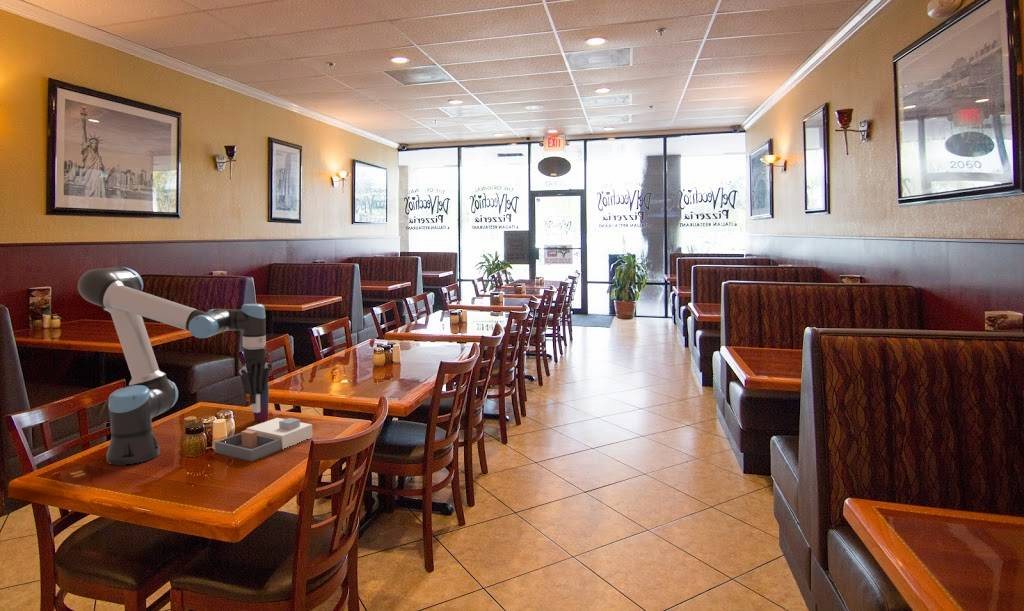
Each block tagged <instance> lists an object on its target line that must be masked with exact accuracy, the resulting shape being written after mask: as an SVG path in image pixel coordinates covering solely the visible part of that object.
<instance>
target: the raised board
mask: <svg viewBox="0 0 1024 611" xmlns="http://www.w3.org/2000/svg"><path fill="white" fill-rule="evenodd" d="M285 419H286V418H281V417H275V418H272V419H268V420H267V421H264V422H259V423H258V424H254V425H253V426H249V427H246V430H252V431H256V432H257V435H262V436H266V437H271V438H275V439H280V449H281V450H282V449H283V450H285V449H284V448H286V449H287V447H288V448H290V447H289V446H291V447H292V445H293V446H296V445H298V444H300V443H302V442H301V441H303V440H305V441H307V440H306V439H308V440H309V439H312V437H313V435H314V434H313V424H312V423H308V422H307V423H306V422H301V421H300V426H299V427H297V428H294V429H291V430H286V429H281V428H279V421H282V420H285ZM299 442H300V443H299ZM303 442H304V441H303ZM297 443H298V444H297Z"/></svg>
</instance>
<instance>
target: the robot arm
mask: <svg viewBox="0 0 1024 611" xmlns="http://www.w3.org/2000/svg"><path fill="white" fill-rule="evenodd" d="M77 290H78V293H79V295H80V297H82V298H83V299H84V300H85V301H87V302H89V303H91V304H93V305H96V306H99V307H102V309H103V310H104V311H106V312H108V313H109V314H110V315H111V319H112V322H113V326H114V328H115V331H116V334H117V337H118V340H119V343H120V346H121V348H122V351H123V356H124V358H125V361H126V363H127V366H128V370H129V372H130V376H131V379H130V381H129V383H128V385H127V386H125V387H121V388H118V389H116V390H114V391H113V392H111V393H110V395H109V397H108V404H107V405H108V406H107V407H108V414H109V425H110V426H109V428H110V437H111V438H110V442H109V445H108V449H107V452H106V456H105V457H106V463H107V462H109V463H111V464H116V465H115V466H127V465H126V464H131V465H135V464H134V463H137V464H140V463H139V462H141V463H144V462H143V461H145V462H147V460H148V461H151V460H153V459H155V458H156V457H158V456H159V455H160V454H161V451H160V445H159V443H158V441H157V439H156V437H155V434H154V433H153V426H152V425H153V423H152V419H154V418H155V417H157V416H159V415H162V414H164V413H166V412H168V411H169V410H170V409H171V408H172V407H174V406H175V404H176V403H177V401H178V398H179V390H178V387H177V385H176V383H175V382H174V381H171V380H170V379H168V377H167V373H165V372H164V371H161V369H160V368H159V365H158V362H157V360H156V356H155V353H154V352H155V351H154V349H153V347H152V344H151V340H150V337H149V335H148V330H147V329H146V328H147V327H146V325H145V321H144V319H143V317H144V318H146V319H150V320H153V321H155V322H160V323H162V324H165V325H168V326H172V327H176V328H179V329H182V330H185V331H188V332H189V333H190V334H191V335H192V336H193V337H195V338H197V339H208V338H210V337H213V336H216V335H218V334H221V333H224V332H226V331H227V332H229V331H234V332H235V331H236V332H237V331H238V332H239V331H240V332H241V333H242V347H243V349H242V354H243V355H242V358H243V359H244V362H243V366H242V367H241V369H240V368H238V369H237V373H238V375H239V376H240V380H241V383H242V388H243V392H244V394H245V395H249V402H250V405H251V412H252V413H254V412H255V413H258V412H260V402H261V401H262V398H261V394H263V393H264V392H263V391H266V388H267V383H269V375H270V371H271V368H272V363H268V362H267V360H266V358H267V348H266V345H267V344H266V343H267V342H266V341H267V340H266V339H267V336H266V335H267V334H266V318H267V317H266V308H265V305H263V304H262V303H245V304H242V305H241V308H240V309H230V308H229V309H228V308H211V309H208V311H207V312H205V311H203V310H200V309H196V308H194V307H190V306H188V305H184V304H181V303H178V302H175V301H171V300H168V299H166V298H163V297H160V296H156V295H154V294H151V293H147V292H144V291H142V290H144V281H143V279H142V277H141V275H140V274H139V273H138V272H137V271H136V270H133V269H132V268H130V267H125V266H124V267H123V266H112V267H105V268H103V267H102V268H93V269H90V270H87V271H85V272H84V273H83V274H82V275H81V277H80V278H79V280H78V284H77ZM152 458H153V459H152ZM150 459H151V460H150Z"/></svg>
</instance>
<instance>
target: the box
mask: <svg viewBox="0 0 1024 611" xmlns="http://www.w3.org/2000/svg"><path fill="white" fill-rule="evenodd" d="M225 438H226V439H225ZM225 438H223V439H224V440H222V439H220V440H216V441H214V453H215V454H216V453H217V454H218V455H222V456H224V457H229V456H230V458H232V459H233V458H234V459H237V460H240V461H245V460H246V462H249V461H250V463H254V462H256V461H258V459H259V460H261V459H263V458H266V457H268V456H271V455H273V454H275V453H274V452H276V453H278V452H280V451H279V450H281V451H282V449H280V439H275V438H271V437H266V436H262V435H257V446H254V447H248V446H243V445H242V439H241V432H240V433H236V434H234V435H231V436H228V437H225ZM225 441H226V443H225ZM277 451H278V452H277ZM272 453H273V454H272ZM270 454H271V455H270ZM265 456H266V457H265ZM260 458H261V459H260ZM255 460H256V461H255ZM253 461H254V462H253Z"/></svg>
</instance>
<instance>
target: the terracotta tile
mask: <svg viewBox="0 0 1024 611" xmlns="http://www.w3.org/2000/svg"><path fill="white" fill-rule="evenodd" d="M240 433H241V439H242V445H243V446H248V447H254V446H257V432H256V431H252V430H247V429H245V430H241V431H240Z"/></svg>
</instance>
